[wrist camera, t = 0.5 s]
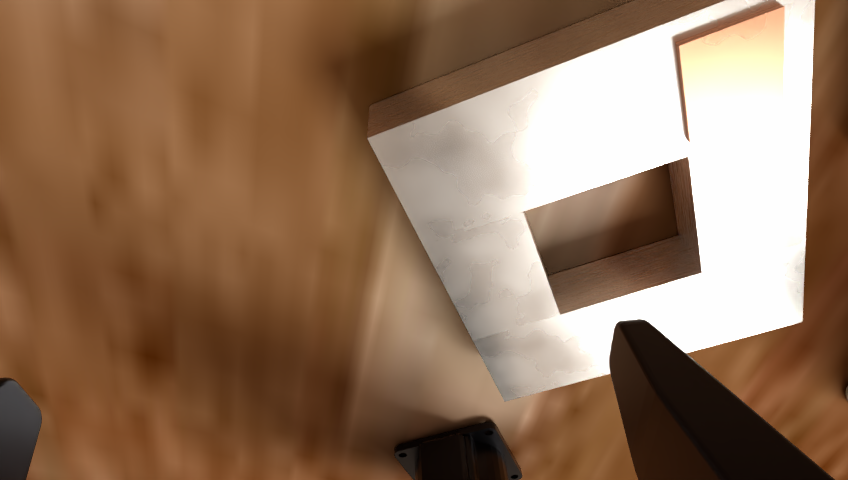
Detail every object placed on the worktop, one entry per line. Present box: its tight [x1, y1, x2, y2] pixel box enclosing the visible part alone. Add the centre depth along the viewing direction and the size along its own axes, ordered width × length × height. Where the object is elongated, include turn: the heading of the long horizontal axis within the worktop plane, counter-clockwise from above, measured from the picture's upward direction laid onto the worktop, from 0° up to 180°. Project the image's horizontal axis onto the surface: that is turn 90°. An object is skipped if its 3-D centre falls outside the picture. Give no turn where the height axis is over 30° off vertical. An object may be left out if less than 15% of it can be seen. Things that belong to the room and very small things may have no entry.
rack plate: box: [367, 0, 815, 401], centre depth 23 cm, size 16×14×3 cm
